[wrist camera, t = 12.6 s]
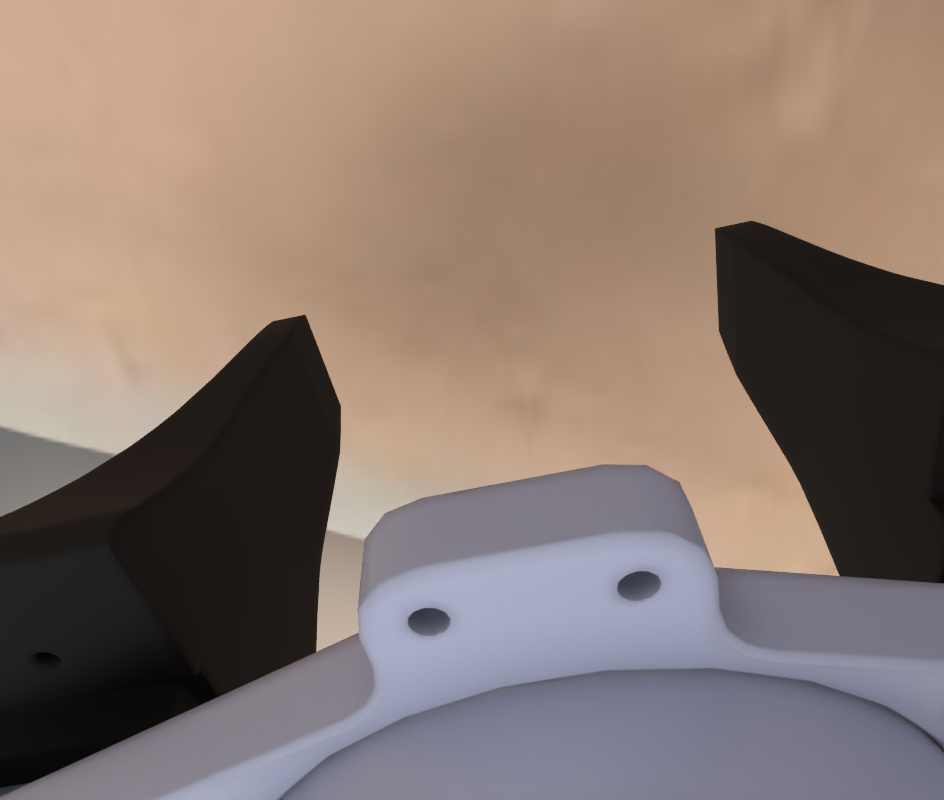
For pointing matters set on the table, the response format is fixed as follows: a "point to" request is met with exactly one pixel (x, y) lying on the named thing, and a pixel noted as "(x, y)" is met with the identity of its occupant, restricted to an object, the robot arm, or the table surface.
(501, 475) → the table surface
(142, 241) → the table surface
